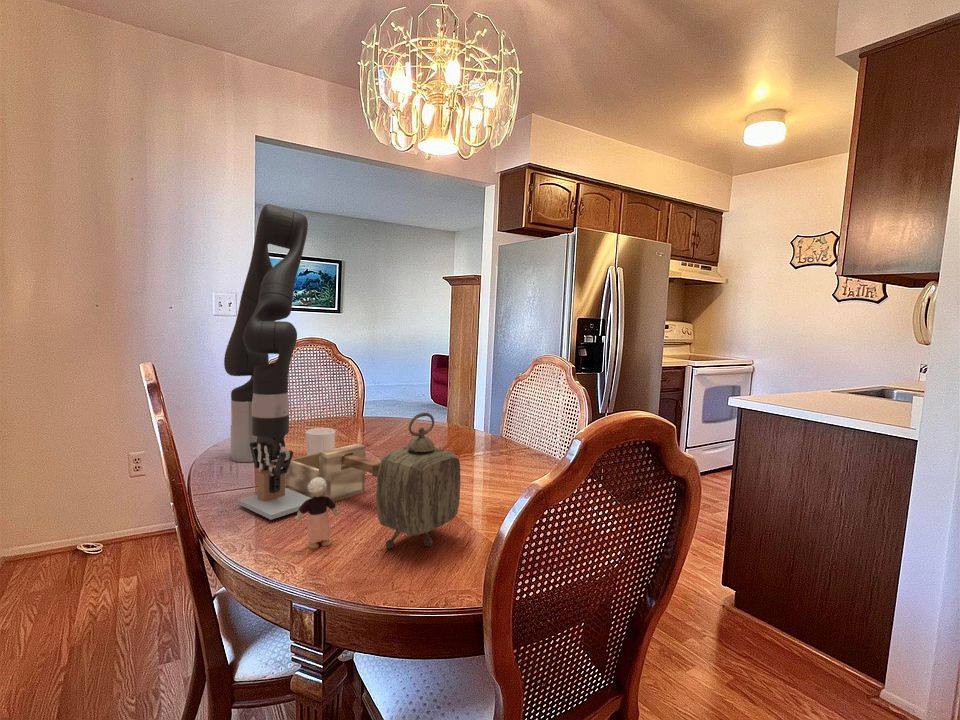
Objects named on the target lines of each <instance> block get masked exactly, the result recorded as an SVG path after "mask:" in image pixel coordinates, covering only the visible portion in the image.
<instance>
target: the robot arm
mask: <svg viewBox="0 0 960 720" xmlns="http://www.w3.org/2000/svg"><path fill="white" fill-rule="evenodd" d="M258 216H259V217H258V221H257V225H256V230H255V238H254V243H253V247H252V248H253V249H252V253H251V259H250V263H249V264H250V265H249V267H248V270H247V271H248V272H247V275H246V278H245V281H244V284H243V288H242V291H241V292H242V293H241V296H240V301H239V307H238V310H237V315H236V319H235V323H234V326H233V329H232V332H231V334H230V338H229V340H228V344H227V345H226V349H225V353H224V359H223V365H224V366H223V367H224V370H225V373H227V374H228V376H233V377H249V376H250V379H248V381H246V382H245V383H244V384H241V385H239V386H237V387H235V388H233V389H232V390H231V393H230V404H231V405H230V410H231V411H230V412H231V414H230V417H231V420H230V421H231V423H230V458H231V460H232V461H233V462H239V463H251V462H253V463H254V468H255V469H258V472H260V471H264V470H268V469H269V475H270V476H269V492H271V493H275V492H279V491H280V476H281V474H285V475H286V473H287V471H288V468H289V465H290V462H291V459H293V456H294V452H293V450H288V449H287V448H286V441H285V436H286V435H288V434H289V433H290V399H289V371H290V364H291V361H292V357H293V353H294V351H295V348H296V344H297V340H298V332H297V328H296V327H295V326H294V324H293V323H292V322H289V321H281V320H285V319H286V318H288V317H289V316H290V315H291V312H292V308H293V298H294V289H295V284H296V278H297V276H298V271H299V268H300V264H301V260H302V257H303V252H304V248H305V244H306V240H307V235H308V227H309V223H308V219H307V217H306V216H305V215H304V214H302V213H300V212H297V211H294V210H291V209H288V208H284V207H281V206H278V205H274V204H270V203H268V204H265V205H264V206H263V207H262V209H261V211H260V213H259V215H258ZM269 245H273V246H276V247H279V248H280V247H281V248H282V249H283V248H284V249H287V250H288V252H287V254H286V255H285V256H284V257H283V258H282V259H281V260H279V262H277V264H275V265H274V266H273V264H272V262H271V258H270V254H269V253H270V252H269V247H268V246H269ZM271 354H272V355H278V357H277V359H276V360H275V361H274V362H271V363H270V361H269V355H271ZM274 468H275V470H274Z"/></svg>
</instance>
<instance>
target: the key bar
mask: <svg viewBox="0 0 960 720" xmlns="http://www.w3.org/2000/svg"><path fill="white" fill-rule="evenodd" d="M341 457H342V464H343V465H347V466H350V467H353V468H356V469H359V470H363V471H365V473H370V474H371V475H372V477H375V478H376V477H378V470H379V466H380V462H379V461H378V462H377V461H375V460H371V459H367V458H366V459H365V458H361V457H358V456H354V455H351V454H349V455H345V454H344V455H341Z"/></svg>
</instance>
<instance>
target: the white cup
mask: <svg viewBox="0 0 960 720" xmlns="http://www.w3.org/2000/svg"><path fill="white" fill-rule="evenodd" d="M335 442H336V429H333V428H330V427H316V428H311V429H307V430H306V431H305V446H306V447H305V449H306V455H310V454H315V453H319V452H323V451H327V450H331V449H335V445H336V443H335Z"/></svg>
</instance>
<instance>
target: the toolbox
mask: <svg viewBox="0 0 960 720" xmlns="http://www.w3.org/2000/svg"><path fill="white" fill-rule="evenodd" d="M366 448H367V447H366V445H364V444H360V443H354V444H350V445H346V446H341V447H335V448H334V449H331V450H327V451H323V452H319V453H315V454H310V455H307V454H306V455H302V456H298V457H292V459H291V462H290V465H289V468H288V471H287V473H285V488H286V487H287V488H289V489H291V490H294V491H296V492H298V493H301V494H303V495H305V496H308V497H310V498H314V496H312V495H311V493H310V492H309V491H308V485H309V483H310V482H311V480H313V479H314V478H317V477H318V478H319V477H320V478H323V479H324V480H325V481H326V485H327V487H326V490H325V492H324V494H323V495H322V496H326V497H329V498H330V499H331V500H332V501H333V502H334V503H336V502H339V501H343V500H345V499H348V498H350V497H354V496H357V495H360V494H363V493H365V492H366V471H363V470H359V469H356V468H353V467H350V466H347V465H343V464H342V456H345V455H349V454H351V455H354V456H358V457H361V458H365V459H367V458H366V454H367V453H366V452H367V450H366ZM338 500H339V501H338ZM335 501H336V502H335Z"/></svg>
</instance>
